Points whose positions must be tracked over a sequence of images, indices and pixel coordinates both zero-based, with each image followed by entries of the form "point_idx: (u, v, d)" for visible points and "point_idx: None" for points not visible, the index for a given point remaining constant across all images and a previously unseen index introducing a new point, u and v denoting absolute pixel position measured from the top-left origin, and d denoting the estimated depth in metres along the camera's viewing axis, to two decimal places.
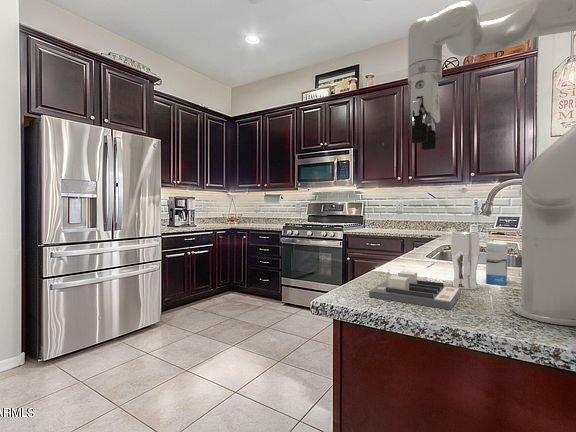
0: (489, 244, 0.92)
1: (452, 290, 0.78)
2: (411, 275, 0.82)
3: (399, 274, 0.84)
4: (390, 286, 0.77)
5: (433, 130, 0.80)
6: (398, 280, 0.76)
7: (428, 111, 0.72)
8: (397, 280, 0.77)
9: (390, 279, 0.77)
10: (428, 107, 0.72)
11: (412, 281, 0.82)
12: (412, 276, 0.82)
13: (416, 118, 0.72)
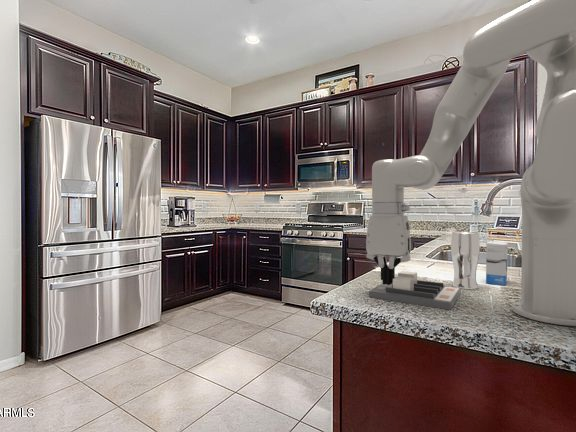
0: (489, 244, 0.92)
1: (452, 290, 0.78)
2: (411, 275, 0.82)
3: (399, 274, 0.84)
4: (394, 287, 0.77)
5: (386, 262, 0.81)
6: (403, 281, 0.76)
7: (409, 252, 0.78)
8: (402, 281, 0.76)
9: (394, 280, 0.77)
10: (410, 248, 0.78)
11: None
12: (412, 276, 0.82)
13: (397, 264, 0.78)
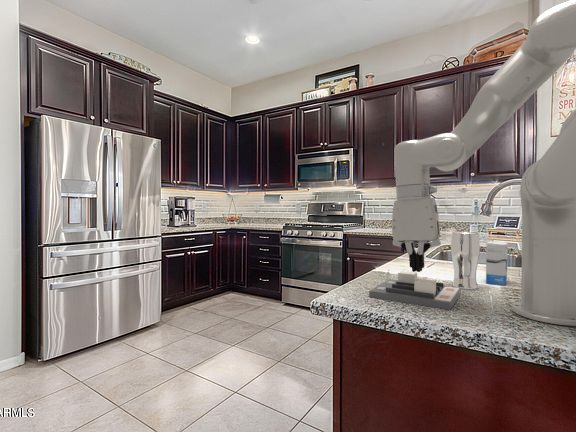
0: (489, 244, 0.92)
1: (452, 290, 0.78)
2: (411, 275, 0.82)
3: (399, 274, 0.84)
4: (416, 289, 0.74)
5: (414, 248, 0.77)
6: (425, 283, 0.73)
7: (438, 236, 0.75)
8: (424, 283, 0.73)
9: (416, 282, 0.74)
10: (439, 232, 0.74)
11: (412, 281, 0.82)
12: (412, 276, 0.82)
13: (426, 249, 0.74)
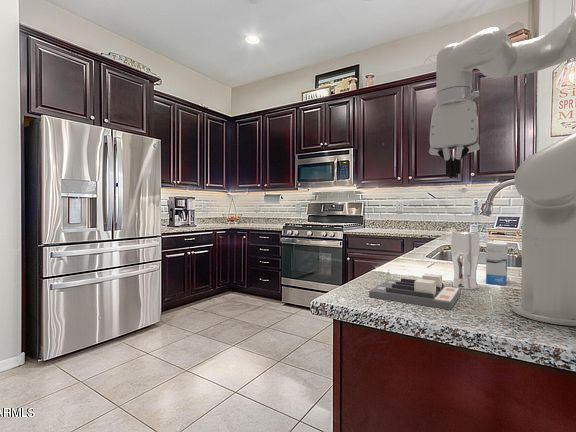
0: (489, 244, 0.92)
1: (452, 290, 0.78)
2: (437, 278, 0.79)
3: (423, 277, 0.81)
4: (416, 289, 0.74)
5: None
6: (425, 283, 0.73)
7: None
8: (424, 283, 0.73)
9: (416, 282, 0.74)
10: (478, 139, 0.75)
11: (438, 284, 0.79)
12: (438, 279, 0.79)
13: (464, 154, 0.75)
